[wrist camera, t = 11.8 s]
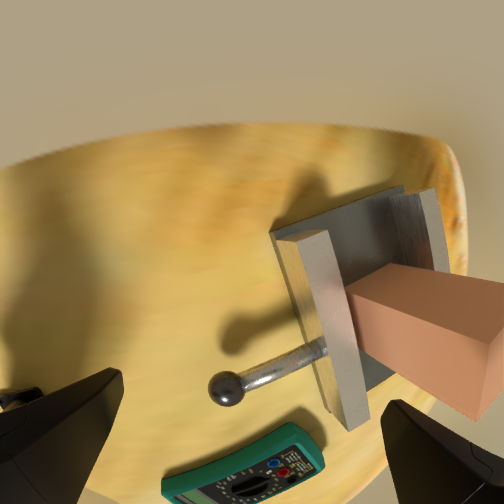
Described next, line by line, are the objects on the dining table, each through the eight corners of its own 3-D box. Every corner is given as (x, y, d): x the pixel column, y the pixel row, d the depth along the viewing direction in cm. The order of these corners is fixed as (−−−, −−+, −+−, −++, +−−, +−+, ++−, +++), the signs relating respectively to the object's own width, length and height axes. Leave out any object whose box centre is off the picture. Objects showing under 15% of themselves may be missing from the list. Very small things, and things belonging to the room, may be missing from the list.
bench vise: (244, 443, 20) (256, 478, 16) (159, 273, 18) (151, 287, 13) (423, 344, 24) (453, 358, 19) (395, 186, 21) (432, 180, 17)
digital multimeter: (322, 451, 23) (334, 468, 20) (201, 507, 20) (204, 526, 17) (294, 413, 21) (307, 432, 18) (157, 477, 19) (156, 498, 16)
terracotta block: (354, 345, 20) (475, 422, 8) (340, 289, 20) (489, 344, 7) (400, 317, 21) (520, 364, 9) (390, 263, 20) (530, 288, 8)
